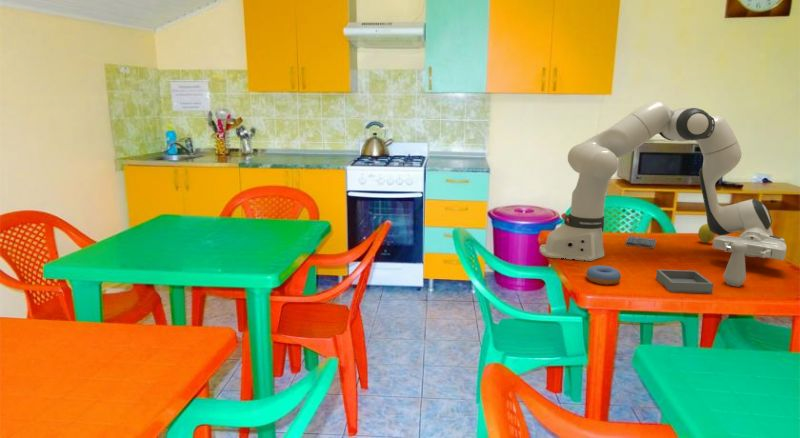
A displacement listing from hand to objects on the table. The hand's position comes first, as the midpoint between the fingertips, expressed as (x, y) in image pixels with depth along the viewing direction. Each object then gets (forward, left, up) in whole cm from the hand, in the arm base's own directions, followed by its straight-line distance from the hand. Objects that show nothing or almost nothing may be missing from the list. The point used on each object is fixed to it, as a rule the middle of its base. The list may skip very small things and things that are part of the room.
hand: (744, 252), depth 171 cm
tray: (-23, -13, -8) cm, 27 cm away
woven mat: (-20, +33, -8) cm, 40 cm away
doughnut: (-46, -10, -8) cm, 47 cm away
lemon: (+5, +36, -8) cm, 38 cm away
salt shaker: (-7, -10, -8) cm, 14 cm away
